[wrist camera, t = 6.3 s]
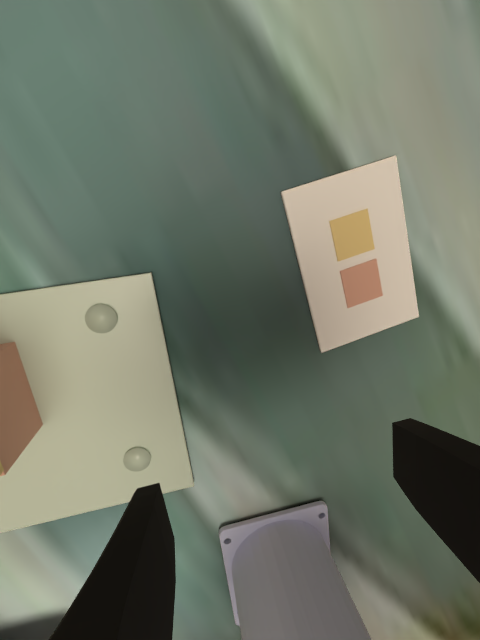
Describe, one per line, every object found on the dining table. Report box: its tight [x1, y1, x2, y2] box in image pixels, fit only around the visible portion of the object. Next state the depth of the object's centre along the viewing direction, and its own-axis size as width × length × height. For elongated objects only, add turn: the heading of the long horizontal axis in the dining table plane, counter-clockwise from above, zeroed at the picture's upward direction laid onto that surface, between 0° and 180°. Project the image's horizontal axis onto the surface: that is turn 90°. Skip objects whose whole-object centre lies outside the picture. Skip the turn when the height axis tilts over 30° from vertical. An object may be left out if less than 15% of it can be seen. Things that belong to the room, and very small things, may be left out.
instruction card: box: [281, 156, 419, 353], centre depth 19 cm, size 10×7×1 cm
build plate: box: [0, 272, 194, 533], centre depth 18 cm, size 14×16×1 cm
